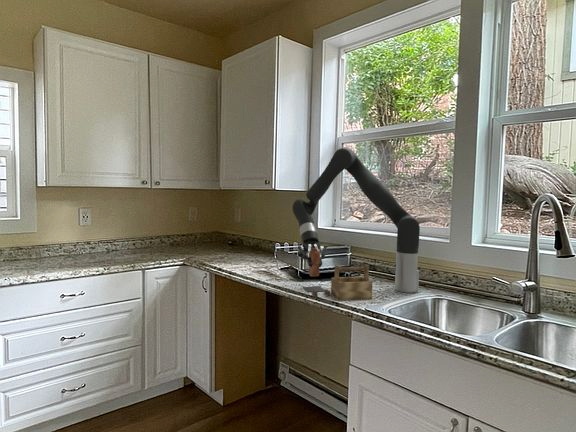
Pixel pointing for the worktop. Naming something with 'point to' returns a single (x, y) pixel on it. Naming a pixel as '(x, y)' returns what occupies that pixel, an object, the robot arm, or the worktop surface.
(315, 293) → the keeper
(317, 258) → the reddish brown cylinder
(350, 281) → the toolbox
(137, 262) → the worktop surface
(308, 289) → the pad
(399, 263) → the robot arm
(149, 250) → the worktop surface
